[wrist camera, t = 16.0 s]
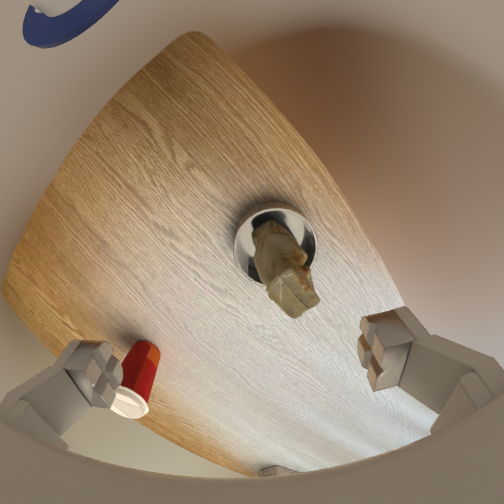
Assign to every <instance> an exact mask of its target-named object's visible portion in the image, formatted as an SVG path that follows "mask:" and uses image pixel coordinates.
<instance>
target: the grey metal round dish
mask: <svg viewBox="0 0 504 504" xmlns="http://www.w3.org/2000/svg"><path fill="white" fill-rule="evenodd" d="M270 219H274V220H275V221H277V222H278V223H279V224H281V225H282V226H283V227H284V228H285V229H286V230H287V231H288V232H289V233H290V234H291V235H292V236H293V237H294V238H295V240H296V241H297V243H298V244H299V246H300V247H301V248H302V249H303V250H304V251H305V252H306V253H307V260H306V262H305V263H304V264H303V266H308V267H310V269H311V268H312V266H313V265H314V263H315V261H316V257H317V253H318V240H317V236H316V233H315V230H314V229H313V227H312V226H311V224H310V223H309V221H308V220H307V219H306V218H305V216H304V215H303V214H302V213H301V212H300V211H298V210H297V209H296V208H294V207H293V206H291V205H289V204H286V203H282V202H266V203H262V204H259V205H257V206H255V207H254V208H252V209H250V210H249V211H248V212H247V213H246V214H245V215H244V216H243V218H242V219H241V221H240V223H239V225H238V227H237V230H236V234H235V240H234V248H233V251H234V257H235V261H236V263H237V266H238V268H239V270H240V271H241V272H242V273H243V274H244V276H245V277H246V278H248V279H249V280H251V281H252V282H254V283H255V284H258V285H261V286H263V287H267V286H265V285H264V284H263V283H262V282H261V280H260V278H259V275H258V272H257V269H256V266H255V263H254V259H253V258H254V254H255V251H256V248H255V246H254V243H253V240H252V236H251V233H252V232H253V231H254V230H255V229H256V228H257V227H259V226H260V225H261V224H263V223H264V222H266V221H268V220H270Z"/></svg>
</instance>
